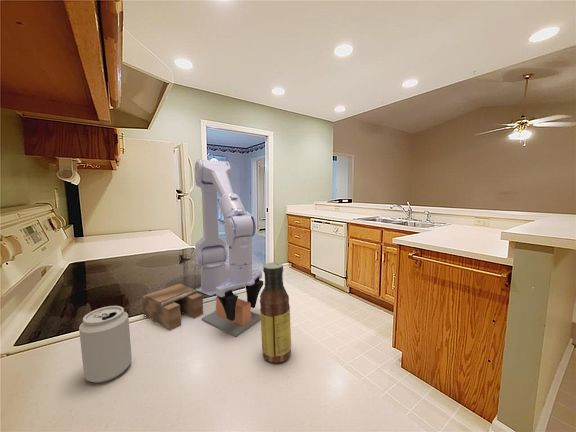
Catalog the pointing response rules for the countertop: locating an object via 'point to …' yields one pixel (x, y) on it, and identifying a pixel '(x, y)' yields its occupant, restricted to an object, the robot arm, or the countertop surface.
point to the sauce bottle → (275, 315)
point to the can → (105, 343)
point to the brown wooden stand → (172, 305)
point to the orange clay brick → (236, 311)
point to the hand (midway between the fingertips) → (241, 312)
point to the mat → (230, 323)
